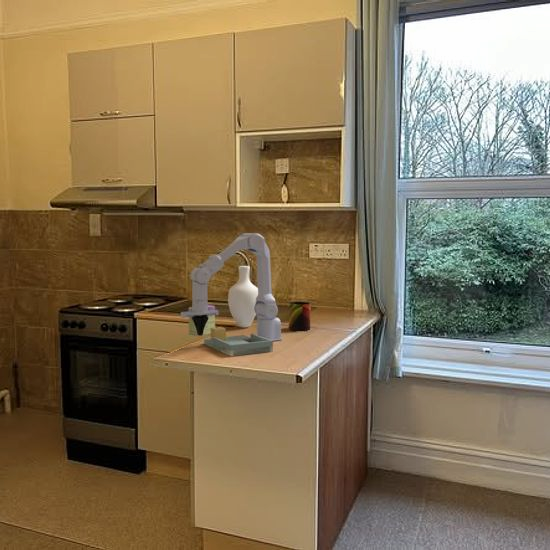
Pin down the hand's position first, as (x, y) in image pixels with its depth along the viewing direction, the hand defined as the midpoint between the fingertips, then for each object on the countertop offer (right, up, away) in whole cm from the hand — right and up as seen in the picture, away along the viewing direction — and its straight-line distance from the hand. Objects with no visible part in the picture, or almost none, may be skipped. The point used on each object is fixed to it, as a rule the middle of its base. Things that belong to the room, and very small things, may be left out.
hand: (199, 335), depth 211 cm
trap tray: (+14, -5, 0) cm, 15 cm away
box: (-3, -3, +26) cm, 27 cm away
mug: (+39, -2, +40) cm, 56 cm away
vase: (+14, -1, +43) cm, 45 cm away
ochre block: (+7, -2, +4) cm, 8 cm away
